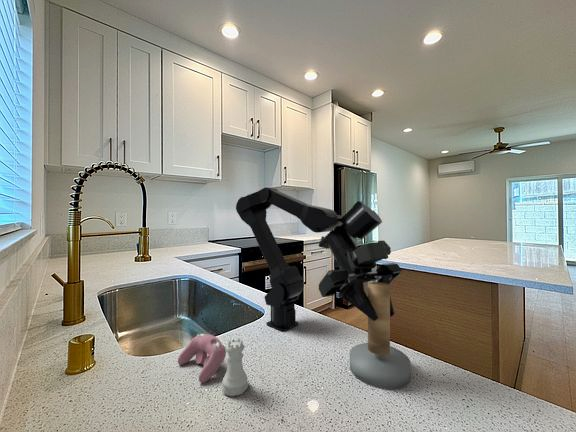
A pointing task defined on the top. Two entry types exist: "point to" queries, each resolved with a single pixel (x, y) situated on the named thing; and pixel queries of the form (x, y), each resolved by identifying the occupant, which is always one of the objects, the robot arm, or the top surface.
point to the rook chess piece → (234, 370)
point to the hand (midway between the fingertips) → (384, 317)
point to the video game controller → (204, 354)
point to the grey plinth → (380, 367)
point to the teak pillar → (379, 318)
